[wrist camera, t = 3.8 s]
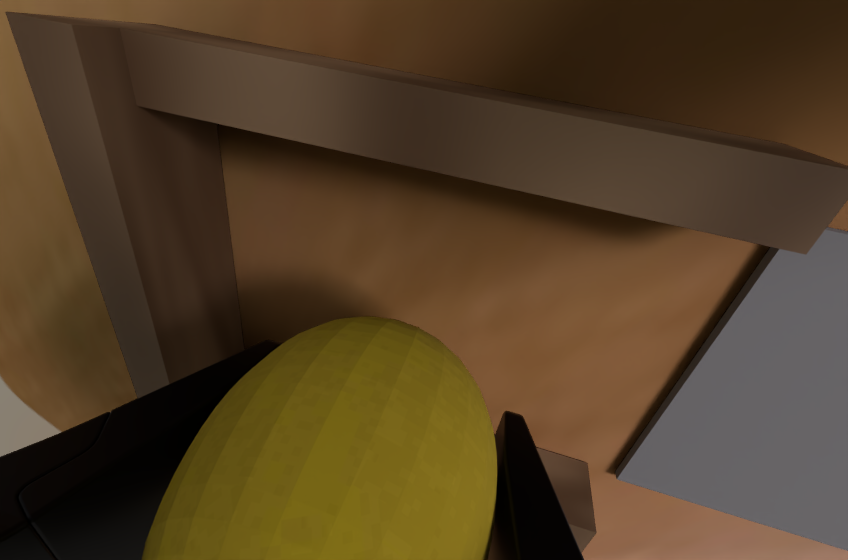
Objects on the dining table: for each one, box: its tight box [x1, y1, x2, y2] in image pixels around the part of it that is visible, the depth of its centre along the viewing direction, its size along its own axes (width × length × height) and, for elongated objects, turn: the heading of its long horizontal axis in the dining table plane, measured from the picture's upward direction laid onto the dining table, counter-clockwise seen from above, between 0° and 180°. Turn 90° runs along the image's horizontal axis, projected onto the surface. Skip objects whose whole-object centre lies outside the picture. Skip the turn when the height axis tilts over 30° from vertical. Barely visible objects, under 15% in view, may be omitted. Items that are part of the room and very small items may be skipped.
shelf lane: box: [6, 12, 848, 553], centre depth 11 cm, size 16×13×4 cm
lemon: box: [142, 316, 497, 560], centre depth 7 cm, size 6×6×8 cm
